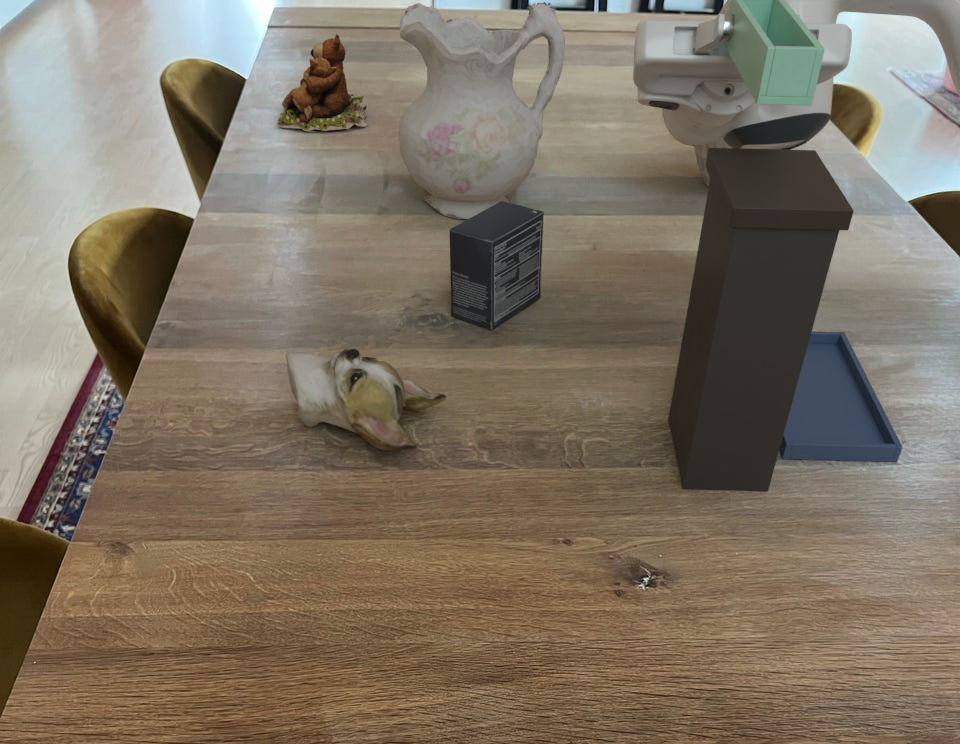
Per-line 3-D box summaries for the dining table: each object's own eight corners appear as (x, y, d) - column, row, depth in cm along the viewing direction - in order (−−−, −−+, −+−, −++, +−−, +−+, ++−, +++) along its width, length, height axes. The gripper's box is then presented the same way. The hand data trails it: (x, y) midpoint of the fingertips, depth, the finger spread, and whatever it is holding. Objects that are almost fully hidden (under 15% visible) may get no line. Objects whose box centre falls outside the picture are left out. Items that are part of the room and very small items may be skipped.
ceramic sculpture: (307, 310, 96) (451, 341, 94) (312, 386, 103) (447, 417, 100) (260, 362, 89) (415, 397, 87) (269, 441, 96) (413, 476, 93)
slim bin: (770, 44, 90) (780, -7, 88) (811, 105, 78) (825, 48, 75) (722, 43, 90) (731, -8, 88) (756, 104, 78) (767, 47, 75)
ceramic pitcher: (526, 181, 149) (529, -13, 133) (575, 220, 135) (585, 7, 119) (389, 197, 144) (374, -3, 128) (425, 239, 130) (414, 20, 114)
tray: (840, 345, 111) (844, 331, 110) (897, 462, 95) (902, 447, 94) (742, 343, 111) (745, 329, 110) (782, 459, 95) (786, 444, 94)
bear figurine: (279, 108, 169) (270, 27, 160) (366, 106, 170) (361, 26, 161) (276, 134, 159) (266, 49, 151) (368, 132, 160) (363, 48, 152)
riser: (750, 419, 100) (815, 150, 82) (774, 494, 91) (854, 210, 72) (662, 416, 100) (708, 147, 82) (678, 492, 91) (733, 207, 73)
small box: (498, 284, 121) (501, 197, 114) (542, 298, 119) (547, 211, 111) (447, 315, 115) (446, 226, 108) (492, 331, 112) (494, 241, 105)
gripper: (821, 108, 100) (872, 66, 87) (622, 104, 100) (642, 61, 87) (828, 39, 98) (881, -14, 85) (626, 35, 99) (647, -19, 85)
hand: (758, 24), depth 86 cm, fingers closed on slim bin, 4 cm apart
